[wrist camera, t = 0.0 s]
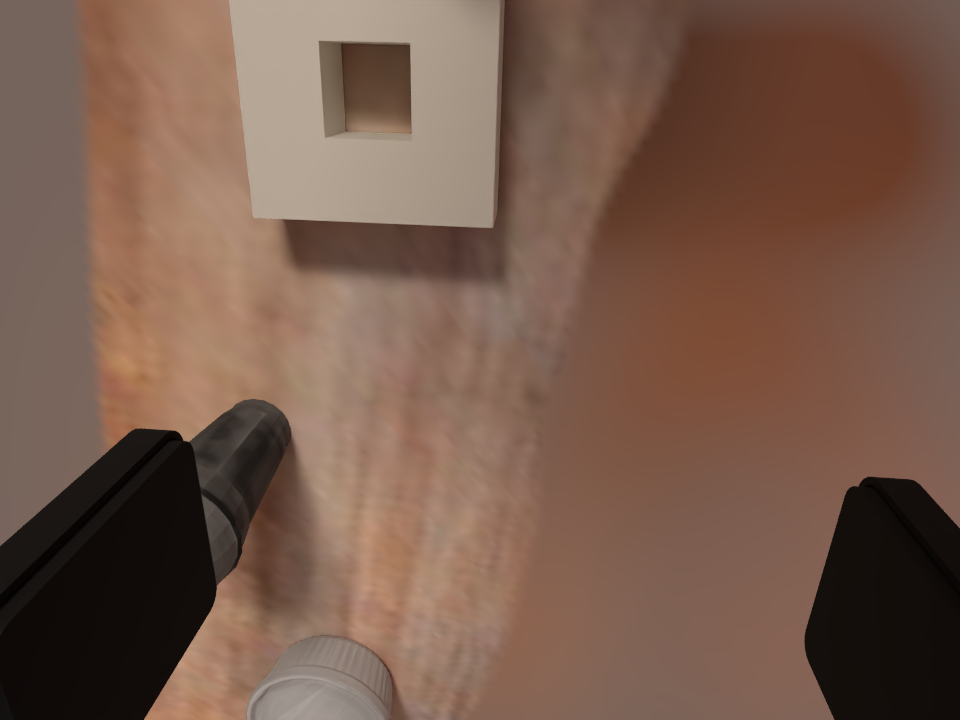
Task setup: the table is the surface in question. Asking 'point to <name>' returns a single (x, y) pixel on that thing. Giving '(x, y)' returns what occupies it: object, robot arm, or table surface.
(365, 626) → the table surface
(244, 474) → the beverage cup
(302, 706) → the ramekin
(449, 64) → the hole block
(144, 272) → the table surface
